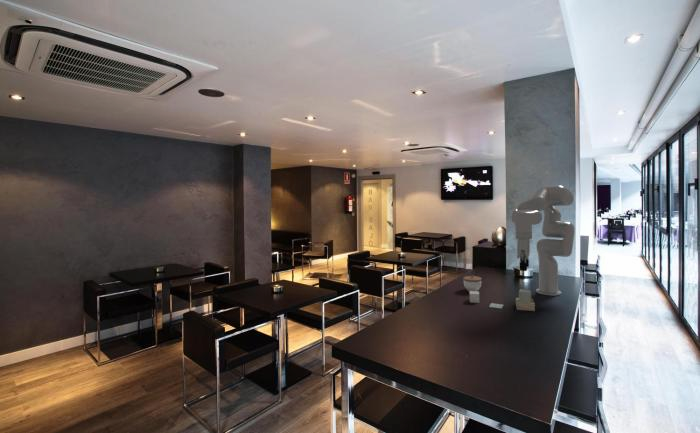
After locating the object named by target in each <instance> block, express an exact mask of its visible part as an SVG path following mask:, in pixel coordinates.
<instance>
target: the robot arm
mask: <svg viewBox="0 0 700 433" xmlns="http://www.w3.org/2000/svg"><path fill="white" fill-rule="evenodd" d="M573 202H574V194H573V192H572V191H571V190H570V189H568V188H567V187H566V186H564V185H546V186H545V185H544V186H542V187H539V188H538V189H537V190H536V192H535V194H534V195H533V196H532V198H530V199H528V200H525V201H523V202H521V203H519V204H518V205H517V206H515V208H514V210H513V211H512V213H511V216H510V217H511V221H512V223H513V224H514V227H515V231H514V232H515V233H514V234H515V239H516V240H517V243H516V247H517V248H516V251H517V252H516V258H517V259H519V271H520V272H527V271H528V268H529V266H530V259H529V258H530V251H531V250H530V249H531V248H530V240H532V239H533V226H534V225H539V224H540V223H541V222H542V229H541V233H542V235H543V237H546V238H542V239H539V240H537V242H536V253H537V256H538V288H536V290H535V292H536V293H538V294H540V295H543V296H551V297H552V296H554V297H555V296H561V295H562V290H560V289H559V271H558V270H559V268H558V266H559V263H558V262H557V259H556V258H555V257H561V258H562V257H563V258H568V257H571V255H572V253H573V249H574V248H573V246H574V239H575V226H574V224H573V223H572V222H569V221H561V219H562V214H561V211H560V210H559V209H558V208H557V207H556V206H562V207H563V206H564V207H565V206H571V205H572V204H573ZM542 211H543V214H544V216H543V215H542ZM542 220H543V221H542ZM532 225H533V226H532Z"/></svg>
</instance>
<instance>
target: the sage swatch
mask: <svg viewBox="0 0 700 433" xmlns="http://www.w3.org/2000/svg"><path fill="white" fill-rule="evenodd" d="M503 307H504V304H501V303H500V304H499V303H494V302H491V303H490V305H489V306H488V308H491V309H492V308H493V309H501V310H502V309H503Z"/></svg>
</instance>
